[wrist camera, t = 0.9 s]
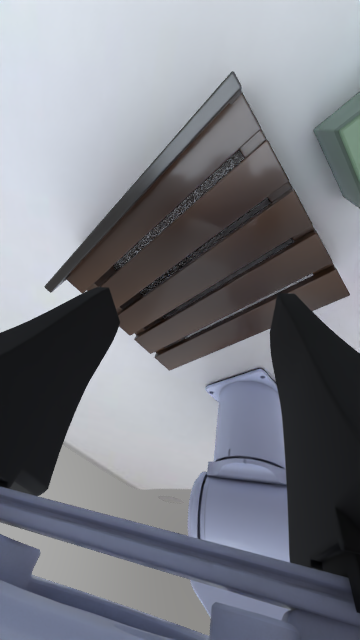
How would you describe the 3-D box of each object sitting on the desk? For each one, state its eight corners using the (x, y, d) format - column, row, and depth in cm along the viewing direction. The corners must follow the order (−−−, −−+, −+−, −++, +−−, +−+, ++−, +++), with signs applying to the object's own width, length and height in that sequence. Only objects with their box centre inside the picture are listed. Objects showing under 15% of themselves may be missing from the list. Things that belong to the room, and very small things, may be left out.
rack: (332, 266, 18) (362, 314, 13) (177, 342, 26) (164, 387, 22) (236, 89, 13) (233, 69, 8) (85, 253, 22) (43, 287, 17)
